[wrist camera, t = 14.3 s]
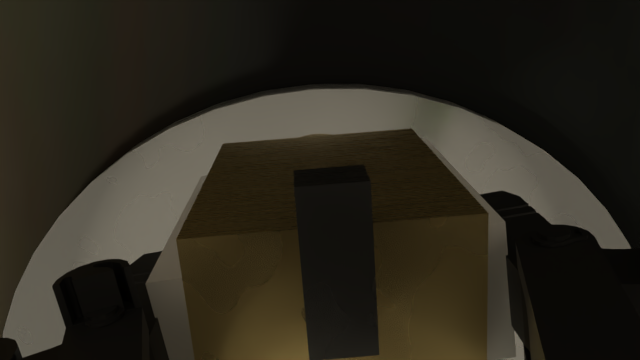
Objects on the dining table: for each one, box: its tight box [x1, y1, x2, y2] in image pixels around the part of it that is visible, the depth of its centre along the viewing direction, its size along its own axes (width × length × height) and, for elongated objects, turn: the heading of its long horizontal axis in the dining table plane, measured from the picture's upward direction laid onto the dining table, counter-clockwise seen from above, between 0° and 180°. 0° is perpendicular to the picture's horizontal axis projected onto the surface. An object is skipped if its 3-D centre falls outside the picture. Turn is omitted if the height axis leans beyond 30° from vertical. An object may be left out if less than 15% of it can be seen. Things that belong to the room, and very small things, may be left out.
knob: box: [176, 128, 489, 360], centre depth 13 cm, size 6×5×9 cm
